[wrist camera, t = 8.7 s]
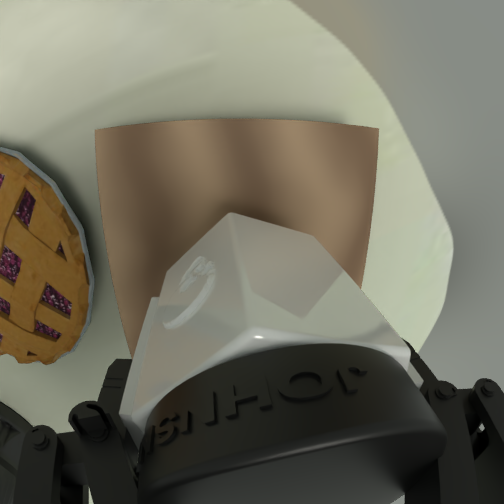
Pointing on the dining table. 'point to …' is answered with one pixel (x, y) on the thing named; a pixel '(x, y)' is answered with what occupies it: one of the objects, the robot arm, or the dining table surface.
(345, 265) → the wooden serving stand
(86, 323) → the pie
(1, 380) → the dining table surface
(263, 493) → the jar
